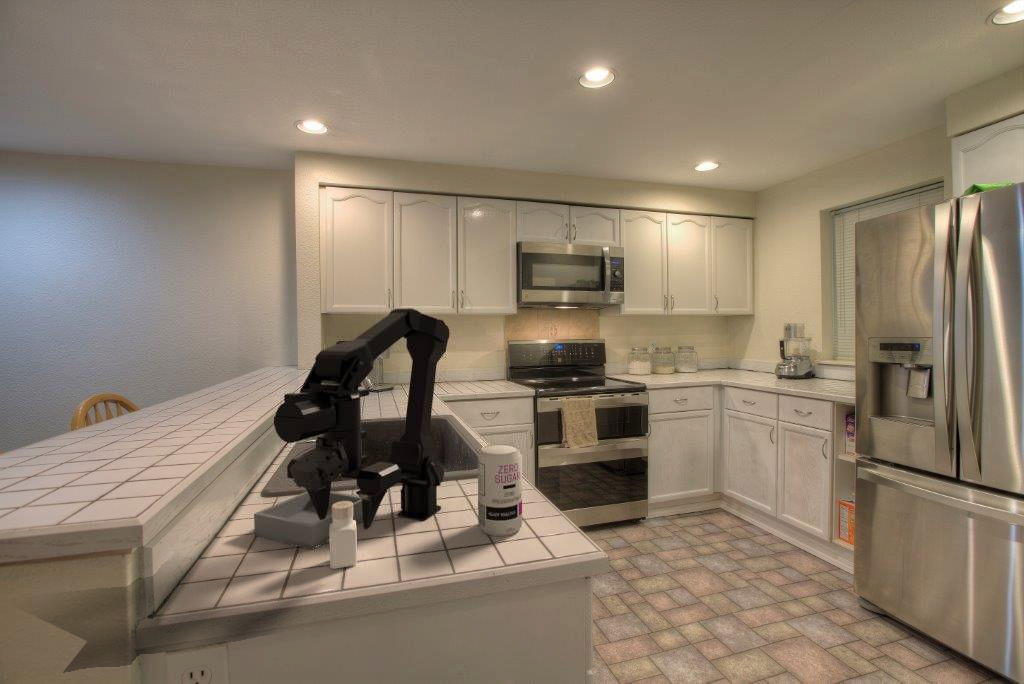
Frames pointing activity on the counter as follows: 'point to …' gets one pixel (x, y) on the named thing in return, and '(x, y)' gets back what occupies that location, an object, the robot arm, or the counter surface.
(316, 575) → the counter surface
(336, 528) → the salt shaker
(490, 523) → the supplement can
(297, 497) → the bin
